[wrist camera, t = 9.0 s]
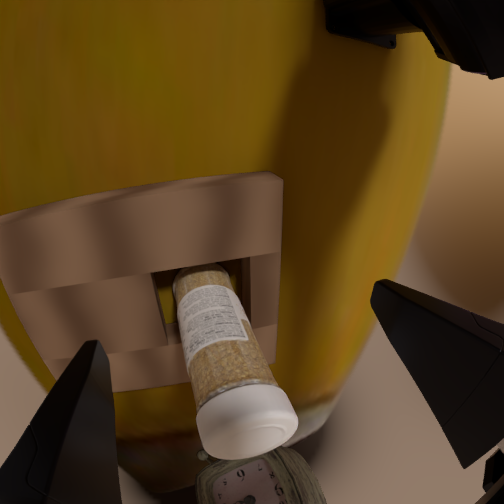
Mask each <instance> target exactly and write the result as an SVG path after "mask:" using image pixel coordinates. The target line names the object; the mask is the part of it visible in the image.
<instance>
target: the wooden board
mask: <svg viewBox="0 0 504 504" xmlns="http://www.w3.org/2000/svg"><path fill="white" fill-rule="evenodd" d="M282 213H283V179H281V178H280V177H278V176H276V175H275V174H273V173H272V172H270V171H263V172H250V173H239V174H228V175H218V176H209V177H200V178H192V179H184V180H176V181H169V182H162V183H155V184H148V185H142V186H135V187H129V188H123V189H118V190H112V191H107V192H101V193H96V194H91V195H86V196H81V197H76V198H71V199H67V200H62V201H58V202H53V203H49V204H45V205H41V206H36V207H32V208H28V209H24V210H21V211H17V212H13V213H9V214H6V215H2V216H0V278H1V280H2V282H3V285H4V287H5V289H6V292H7V294H8V296H9V298H10V300H11V302H12V305H13V307H14V309H15V311H16V313H17V315H18V317H19V319H20V321H21V323H22V324H23V326H24V328H25V330H26V332H27V334H28V335H29V337H30V339H31V341H32V343H33V344H34V346H35V348H36V349H37V351H38V353H39V354H40V356H41V358H42V359H43V361H44V362H45V364H46V365H47V367H48V369H49V370H50V372H51V373H52V375H53V376H54V378H55V379H56V381H57V380H58V379H59V377H60V376H61V374H62V373H63V371H64V370H65V368H66V367H67V366H68V364H69V363H70V361H71V360H72V359H73V357H74V356H75V354H76V353H77V352H78V350H79V349H80V347H81V346H82V345H83V343H84V342H85V341H87V340H94V339H97V340H99V341H100V343H101V345H102V347H103V349H104V351H105V352H106V354H107V356H108V359H109V362H110V372H111V382H112V391H113V392H121V391H130V390H138V389H146V388H154V387H161V386H167V385H174V384H180V383H186V382H191V380H190V377H189V375H188V372H187V367H186V362H185V357H184V351H183V346H182V340H181V335H180V329H179V323H178V322H177V323H171V324H166V323H165V319H164V315H163V311H162V307H161V303H160V299H159V294H158V290H157V285H156V281H155V276H154V272H158V271H164V270H170V269H176V268H183V267H189V266H195V265H201V264H207V263H214V262H220V261H226V260H232V259H238V258H241V280H242V307H243V309H244V311H245V314H246V316H247V318H248V320H249V322H250V325H251V328H252V331H253V333H254V335H255V338H256V340H257V342H258V344H259V347H260V349H261V351H262V353H263V355H264V357H265V359H266V362H267V363H268V365H269V364H273V363H275V357H276V341H277V325H278V307H279V287H280V266H281V242H282Z"/></svg>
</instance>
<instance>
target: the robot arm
mask: <svg viewBox="0 0 504 504" xmlns="http://www.w3.org/2000/svg"><path fill="white" fill-rule="evenodd" d="M324 6H325V12H326V29H327V31H328V32H329V33H331V34H334V35H339V36H343V37H348V38H352V39H356V40H360V41H363V42H367V43H371V44H374V45H378V46H381V47H384V48H387V49H394V48H395V47H396V34H403V33H413V32H424V34H425V35H426V37H427V38H428V40H429V41H430V43H431V44H432V46H433V48H434V49H435V50H434V52H435V53H436V55H437V57H438V58H440V59H443V60H445V61H448V62H451V63H454V64H456V65H459V66H460V68H461V69H462V70H463V71H466V72H471V73H477V74H482V75H486V76H488V78H489V79H491V80H493V79H497V78H501V77H504V0H324ZM332 25H333V26H334V27H335V30H334V29H333V28H332ZM390 43H391V45H390ZM370 304H371V307H372V309H373V311H374V313H375V314H376V316H377V318H378V320H379V322H380V324H381V326H382V328H383V330H384V332H385V334H386V336H387V337H388V339H389V341H390V343H391V344H392V346H393V347H394V349H395V350H396V352H397V354H398V355H399V357H400V358H401V360H402V362H403V363H404V365H405V366H406V368H407V370H408V371H409V373H410V375H411V376H412V378H413V379H414V381H415V383H416V384H417V386H418V388H419V389H420V391H421V392H422V394H423V396H424V398H425V400H426V401H427V403H428V405H429V406H430V408H431V410H432V412H433V413H434V415H435V417H436V419H437V420H438V422H439V424H440V426H441V427H442V430H443V432H444V433H445V435H446V437H447V439H448V441H449V443H450V445H451V446H452V448H453V450H454V452H455V454H456V456H457V458H458V460H459V461H460V464H461V466H462V467H463V469H466V468H467V467H469V466H470V465H471V464H473V463H474V462H475V461H477V460H478V459H479V458H480V457H482V456H483V455H484V454H486V453H487V452H488V451H489V450H491V449H492V448H493V447H494V446H496V445H498V447H499V448H498V449H497V450H496V451H495V452H494V453H493V454H492V455H491V456H490V458H488V459H487V460H486V465H485V474H484V480H483V489H484V490H485V492H486V494H484V495H483V496H482V497H481V498H480V499H479V500H478V501H477V502H476V503H475V504H504V324H502V323H499V322H496V321H493V320H490V319H488V318H485V317H483V316H480V315H477V314H475V313H473V312H470V311H467V310H465V309H462V308H460V307H457V306H455V305H452V304H450V303H447V302H445V301H442V300H439V299H437V298H434V297H432V296H429V295H427V294H424V293H421V292H419V291H417V290H414V289H411V288H409V287H406V286H403V285H401V284H398V283H396V282H393V281H390V280H388V279H382V280H379V281H376V282H375V284H374V287H373V291H372V295H371V299H370ZM0 504H122V500H121V492H120V484H119V475H118V464H117V452H116V435H115V409H114V399H113V391H112V382H111V372H110V362H109V359H108V356H107V354H106V352H105V351H104V349H103V347H102V345H101V343H100V341H99V340H97V339H94V340H87V341H85V342H84V343H83V345H82V346H81V347H80V349H79V350H78V352H77V353H76V354H75V356H74V357H73V359H72V360H71V361H70V363H69V364H68V366H67V367H66V368H65V370H64V371H63V373H62V374H61V376H60V377H59V379H58V380H57V382H56V383H55V384H54V386H53V387H52V389H51V390H50V392H49V393H48V395H47V396H46V398H45V400H44V401H43V403H42V404H41V406H40V407H39V409H38V410H37V412H36V414H35V415H34V417H33V419H32V420H31V422H30V425H28V426H27V428H26V430H25V431H24V433H23V435H22V436H21V438H20V439H19V441H18V443H17V444H16V446H15V447H14V449H13V450H12V452H11V453H10V455H9V456H8V458H7V459H6V460H5V462H4V463H3V465H2V466H1V468H0Z"/></svg>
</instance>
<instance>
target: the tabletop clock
mask: <svg viewBox="0 0 504 504" xmlns="http://www.w3.org/2000/svg"><path fill="white" fill-rule="evenodd" d="M197 456H198V458H199V459H200V460H206V461H207V462H208V463H209V465H208V466H206V467H205V468H203V469H202V470H201V471H200V472H199V473H198V474H197V475H196V480H195V489H196V498H197V502H198V504H327V503H326V499H325V497H324V494H323V492H322V490H321V487H320V485H319V483H318V480H317V478H316V477H315V475H314V474H313V472H312V470H311V469H310V467H309V465H308V464H307V462H306V461H305V460H304V459H303V457H302V456H301V455H300V454H298V453H297V452H296V451H295V450H293V449H289V448H286V447H282V446H278V447H277V448H275V449H273V450H271V451H268V452H266V453H263V454H261V455H258V456H254V457H250V458H245V459H237V460H225V459H219V460H217V461H215V462H213V461H212V460H211V459H209V458H208V453H207V452H206V451H199V452H198V454H197Z"/></svg>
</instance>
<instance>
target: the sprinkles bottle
mask: <svg viewBox="0 0 504 504" xmlns="http://www.w3.org/2000/svg"><path fill="white" fill-rule="evenodd" d="M173 294H174V297H175V299H176V303H177V309H178V310H177V317H178V323H179V329H180V335H181V340H182V346H183V351H184V357H185V362H186V367H187V372H188V375H189V377H190V380H191V385H192V389H193V393H194V398H195V402H196V406H197V408H196V412H197V416H196V423H197V427H198V431H199V435H200V438H201V441H202V444H203V447H204V449H205V451H206V452H207V453H208V454H209V455H211V456H213V457H216V458H219V459H225V460H237V459H245V458H250V457H254V456H258V455H261V454H263V453H266V452H268V451H271V450H273V449H275V448H277V447H278V446H280V445H282V444H283V443H284V442H286V441H287V440H288V439H289V438H291V436H292V435H293V434H294V433H295V431H296V429H297V427H298V417H297V415H296V413H295V411H294V409H293V407H292V405H291V403H290V401H289V399H288V397H287V395H286V393H285V392H284V391H283V390H282V389H280V387H279V386H278V384H277V383H276V381H275V379H274V376H273V375H272V372H271V370H270V368H269V366H268V363H267V362H266V359H265V357H264V355H263V353H262V351H261V349H260V347H259V344H258V342H257V340H256V338H255V335H254V333H253V331H252V328H251V325H250V322H249V320H248V318H247V316H246V314H245V311H244V309H243V307H242V305H241V303H240V301H239V299H238V297H237V295H236V294H235V292H234V290H233V288H232V285H231V282H230V278H229V275H228V273H227V271H226V270H225V269H224V268H223V267H222V266H220V265H218V264H216V263H207V264H201V265H195V266H189V267H183V268H182V269H181V270H180V271H179V272H178V274H177V275H176V276H175V279H174V281H173Z"/></svg>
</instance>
